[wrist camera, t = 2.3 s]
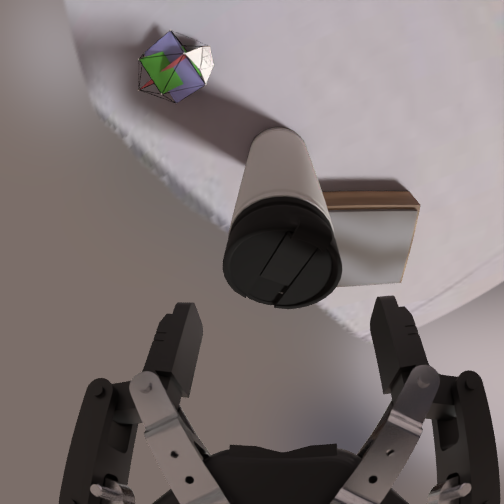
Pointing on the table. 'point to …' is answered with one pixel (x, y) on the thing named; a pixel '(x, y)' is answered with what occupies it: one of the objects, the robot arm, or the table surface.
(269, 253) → the travel mug
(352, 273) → the square wooden framed mirror
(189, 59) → the geometric puzzle
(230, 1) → the table surface
